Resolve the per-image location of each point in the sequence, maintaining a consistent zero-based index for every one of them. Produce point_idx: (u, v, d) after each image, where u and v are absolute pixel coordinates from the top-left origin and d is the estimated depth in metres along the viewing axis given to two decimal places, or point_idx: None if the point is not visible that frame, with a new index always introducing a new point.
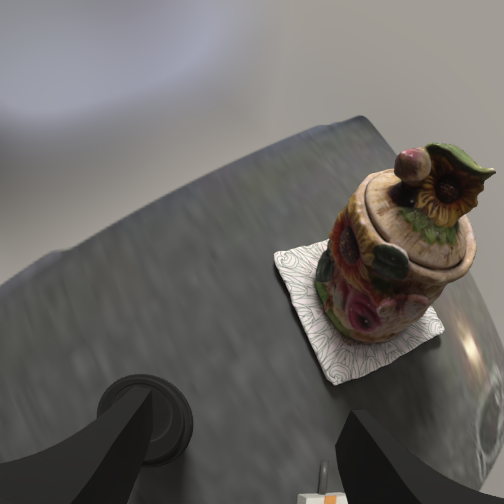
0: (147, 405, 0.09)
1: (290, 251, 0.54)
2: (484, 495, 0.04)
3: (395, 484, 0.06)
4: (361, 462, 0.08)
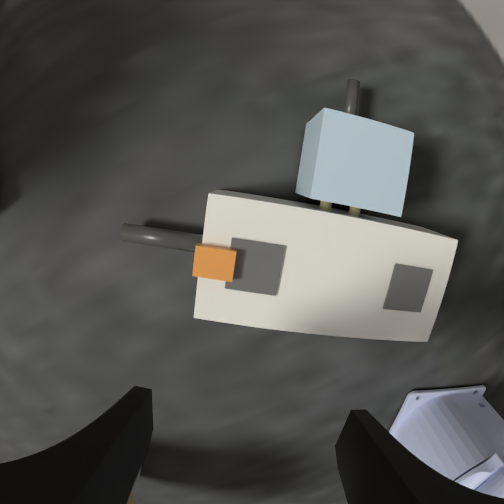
0: (147, 405, 0.09)
1: None
2: (484, 495, 0.04)
3: (395, 484, 0.06)
4: (361, 462, 0.08)
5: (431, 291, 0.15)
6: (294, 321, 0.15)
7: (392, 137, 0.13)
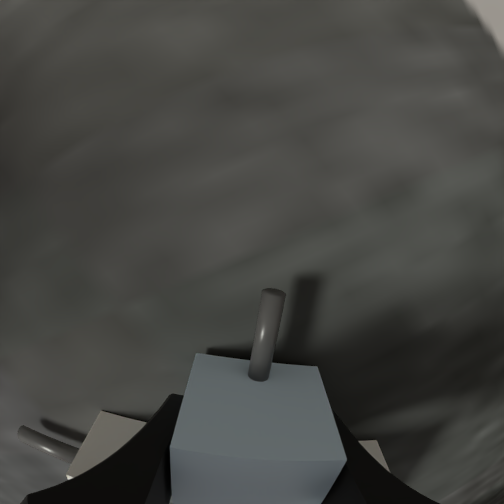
0: None
1: None
2: None
3: (351, 490, 0.06)
4: None
5: None
6: None
7: (301, 472, 0.07)
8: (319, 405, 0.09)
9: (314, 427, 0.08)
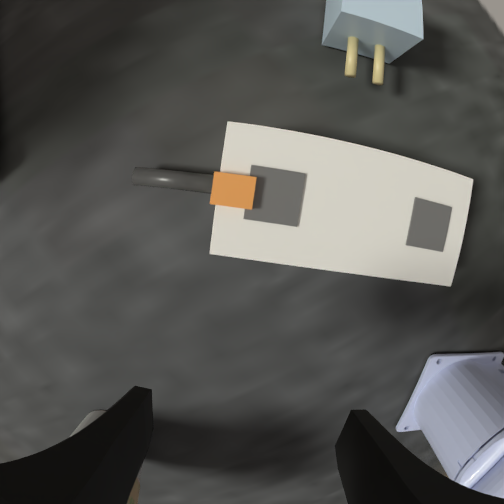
0: (147, 405, 0.09)
1: None
2: (484, 495, 0.04)
3: (395, 484, 0.06)
4: (361, 462, 0.08)
5: (451, 229, 0.14)
6: (316, 256, 0.15)
7: None
8: None
9: None
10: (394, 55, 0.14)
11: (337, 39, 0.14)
